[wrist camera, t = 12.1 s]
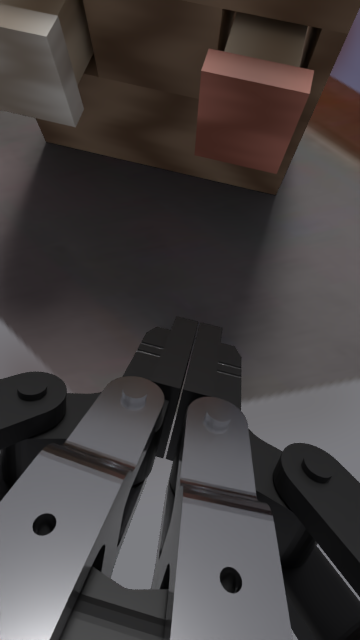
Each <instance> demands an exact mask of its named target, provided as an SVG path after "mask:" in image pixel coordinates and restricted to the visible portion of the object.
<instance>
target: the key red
mask: <svg viewBox="0 0 360 640" xmlns="http://www.w3.org/2000/svg"><path fill="white" fill-rule="evenodd" d="M307 28H308V26H306V25H301V24H296V23H291V22H286V21H281V20H276V19H272V18H267V17H262V16H257V15H252V14H247V13H242V12H237V13H236V16H235V19H234V22H233V25H232V29H231V32H230V35H229V38H228V41H227V44H226V47H225V51H219V50H214V49H210V48H209V49H208V52H207V55H206V58H205V61H204V64H203V67H202V70H201V80H200V92H199V105H198V117H197V129H196V141H195V154H194V155H196V156H200V157H204V158H209V159H213V160H217V161H222V162H226V163H231V164H235V165H239V166H244V167H248V168H252V169H257V170H261V171H266V172H270V173H274V174H277V172H278V170H279V167H280V165H281V162H282V160H283V157H284V155H285V153H286V150H287V148H288V145H289V143H290V140H291V138H292V136H293V133H294V131H295V128H296V126H297V123H298V121H299V119H300V116H301V114H302V111H303V109H304V106H305V104H306V102H307V99H308V97H309V94H310V90H311V85H312V79H313V74H314V70H310V69H305V68H300V67H299V65H300V61H301V56H302V51H303V47H304V42H305V37H306V33H307Z"/></svg>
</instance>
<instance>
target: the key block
mask: <svg viewBox="0 0 360 640" xmlns="http://www.w3.org/2000/svg"><path fill="white" fill-rule="evenodd" d="M83 3H84V8H85V13H86V18H87V22H88V27H89V32H90V37H91V42H92V46H93V51H94V53H93V55H92V57H91V59H90V61H89V63H88V65H87V67H86V69H85V71H84V74H83V76H82V78H81V80H80V82H79V84H78V89H79V93H80V97H81V100H82V104H83V108H84V110H83V112H82V115H81V117H80V119H79V121H78V123H77V125H76V127H72V126H68V125H64V124H59V123H55V122H51V121H46V120H42V119H37V118H36V120H37V123H38V125H39V127H40V129H41V132H42V134H43V136H44V138H45V141H46V142H49V143H54V144H58V145H62V146H67V147H71V148H75V149H79V150H84V151H88V152H92V153H97V154H101V155H105V156H110V157H114V158H118V159H122V160H127V161H131V162H135V163H140V164H144V165H148V166H153V167H157V168H161V169H165V170H170V171H174V172H178V173H183V174H187V175H191V176H196V177H200V178H204V179H208V180H213V181H217V182H221V183H226V184H230V185H234V186H239V187H243V188H247V189H251V190H256V191H260V192H264V193H269V194H273V195H276V194H277V192H278V189H279V187H280V185H281V183H282V180H283V178H284V176H285V174H286V172H287V169H288V167H289V165H290V163H291V160H292V158H293V156H294V154H295V151H296V149H297V147H298V145H299V142H300V140H301V138H302V136H303V133H304V131H305V129H306V127H307V124H308V122H309V120H310V118H311V116H312V113H313V111H314V109H315V107H316V104H317V102H318V100H319V98H320V95H321V93H322V91H323V89H324V86H325V84H326V82H327V80H328V77H329V75H330V73H331V71H332V68H333V66H334V64H335V62H336V59H337V57H338V55H339V53H340V51H341V48H342V46H343V44H344V41H345V39H346V37H347V35H348V33H349V30H350V28H351V26H352V23H353V21H354V19H355V17H356V15H357V13H358V10H359V8H360V0H83ZM237 12H242V13H247V14H252V15H257V16H262V17H267V18H272V19H276V20H281V21H286V22H291V23H296V24H301V25H306V26H308V28H307V33H306V37H305V42H304V47H303V51H302V56H301V61H300V65H299V67H300V68H305V69H310V70H314V74H313V79H312V85H311V90H310V94H309V97H308V99H307V102H306V104H305V106H304V109H303V111H302V114H301V116H300V119H299V121H298V123H297V126H296V128H295V131H294V133H293V136H292V138H291V140H290V143H289V145H288V148H287V150H286V153H285V155H284V157H283V160H282V162H281V165H280V167H279V170H278V172H277V174H274V173H270V172H266V171H261V170H257V169H252V168H248V167H244V166H239V165H235V164H231V163H226V162H222V161H217V160H213V159H209V158H204V157H200V156H196V155H194V154H195V141H196V129H197V117H198V105H199V92H200V80H201V70H202V67H203V64H204V61H205V58H206V55H207V52H208V49H209V48H210V49H214V50H219V51H225V47H226V44H227V41H228V38H229V35H230V32H231V29H232V25H233V22H234V19H235V16H236V13H237Z"/></svg>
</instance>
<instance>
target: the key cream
mask: <svg viewBox="0 0 360 640" xmlns="http://www.w3.org/2000/svg"><path fill="white" fill-rule="evenodd" d="M93 53H94V51H93V46H92V42H91V37H90V32H89V27H88V22H87V18H86V13H85V8H84V3H83V0H0V110H2V111H7V112H11V113H16V114H20V115H24V116H29V117H33V118H37V119H42V120H46V121H51V122H55V123H59V124H64V125H68V126H72V127H76V125H77V123H78V121H79V119H80V117H81V115H82V112H83V110H84V108H83V104H82V100H81V97H80V93H79V89H78V84H79V82H80V80H81V78H82V76H83V74H84V71H85V69H86V67H87V65H88V63H89V61H90V59H91V57H92V55H93Z"/></svg>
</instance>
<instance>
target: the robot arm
mask: <svg viewBox="0 0 360 640" xmlns="http://www.w3.org/2000/svg"><path fill="white" fill-rule="evenodd" d="M197 325H198V322H197V321H193V320H189V319H185V318H181V317H176V319H175V321H174V324H173V326H172V329H171V330H168V329H164V328H160V327H156V328H154V329H152V330H151V331H149V332H147V333H146V335H145V337H144V338H143V340H142V343H141V344H140V346H139V348H138V350H137V351H136V353H135V355H134V357H133V359H132V360H131V362H130V364H129V366H128V368H127V370H126V371H125V373H124V375H123V377H120V378H117V379H115V380H113V381H111V382H110V383H109V384H108V385H107V386H106V387H105V389H104V390H103V391H102V392H100V393H94V394H73V393H67V388H66V385H65V383H64V382H63V381H62V380H61V379H60V378H58V377H57V376H55V375H53V374H49V373H44V372H27V373H22V374H18V375H14V376H11V377H8V378H4V379H0V640H293V637H292V632H291V629H292V630H293V632H294V634H295V635H296V637H297V638H298V640H360V601H359V600H358V599H357V597H356V596H355V595H354V593H353V592H352V591H351V590H350V588H349V587H348V586H347V585H346V583H345V582H344V581H343V579H342V578H341V577H340V575H339V574H338V573H337V572H336V570H335V569H334V568H333V566H332V565H331V564H330V563H329V561H328V560H327V559H326V557H325V556H324V555H323V554H322V552H321V551H320V550H319V548H318V547H317V546H316V545H317V544H319V545H320V547H321V548H322V549H323V551H324V552H325V553H326V554H327V556H328V557H329V558H330V560H331V561H332V562H333V563H334V565H335V566H336V567H337V569H338V570H339V571H340V572H341V574H342V575H343V576H344V578H345V579H346V580H347V581H348V582H349V584H350V585H351V586H352V588H353V589H354V590H355V592H356V593H357V594H358V595H359V597H360V483H359V482H358V481H357V480H356V479H355V478H354V477H353V476H352V475H351V474H350V473H349V472H348V471H347V470H346V469H345V468H344V467H343V466H342V465H341V464H340V463H339V462H338V461H337V460H336V459H334V457H332V456H331V455H330V454H328V453H327V452H325V451H324V450H322V449H320V448H318V447H316V446H313V445H310V444H305V443H294V444H291V445H289V446H287V447H286V448H285V449H284V451H281V450H279V449H277V448H275V447H273V446H272V445H270V444H267V443H266V442H264V441H263V440H261V439H260V438H258V437H257V436H256V435H254V434H253V433H252V432H251V431H250V430H249V429H248V423H247V420H246V417H245V416H244V414H243V413H242V412H241V356H240V354H239V353H238V351H237V349H236V348H235V346H231V345H227V344H223V343H220V342H221V334H222V328H221V327H217V326H213V325H209V324H205V323H201V322H200V325H199V329H198V333H197V337H196V341H195V345H194V349H193V353H192V357H191V361H190V365H189V369H188V373H187V377H186V381H185V384H184V388H183V392H182V396H181V400H180V404H179V408H178V412H177V416H176V420H175V424H174V428H173V432H172V436H171V440H170V444H169V448H168V452H167V456H166V459H168V460H172V461H173V464H172V469H171V473H170V478H169V481H168V485H167V489H166V494H165V502H164V508H163V515H162V523H161V529H160V537H159V544H158V550H157V557H156V564H155V570H154V576H153V581H152V586H151V590H132V589H127V588H124V587H122V586H121V585H119V584H118V583H116V582H115V581H113V580H112V579H111V575H112V572H113V568H114V565H115V562H116V559H117V556H118V554H119V551H120V548H121V546H122V543H123V541H124V538H125V535H126V533H127V530H128V528H129V525H130V523H131V520H132V518H133V515H134V512H135V510H136V507H137V505H138V502H139V500H140V497H141V494H142V492H143V489H144V487H145V484H146V480H147V477H148V475H149V474H150V472H151V470H152V467H153V463H154V459H155V456H157V457H161V458H163V457H164V453H165V450H166V446H167V442H168V438H169V434H170V430H171V427H172V423H173V419H174V415H175V412H176V408H177V404H178V400H179V396H180V393H181V389H182V385H183V381H184V377H185V373H186V369H187V365H188V361H189V357H190V353H191V349H192V345H193V341H194V337H195V333H196V329H197Z"/></svg>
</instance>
